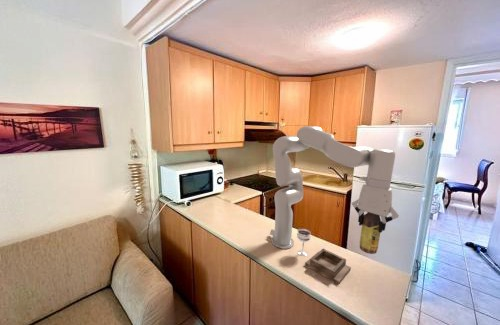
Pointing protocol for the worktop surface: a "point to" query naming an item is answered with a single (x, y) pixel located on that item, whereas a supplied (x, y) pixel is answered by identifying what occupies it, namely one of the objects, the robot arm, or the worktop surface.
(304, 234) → the wineglass
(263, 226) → the worktop surface
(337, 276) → the caddy
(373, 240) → the sauce bottle
